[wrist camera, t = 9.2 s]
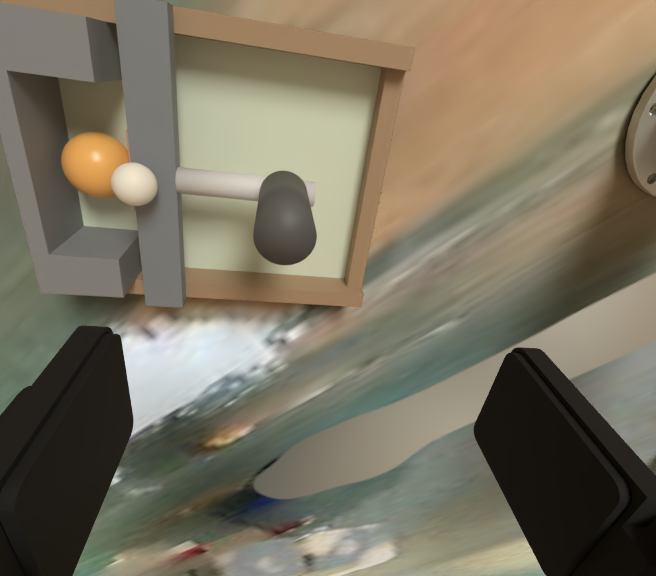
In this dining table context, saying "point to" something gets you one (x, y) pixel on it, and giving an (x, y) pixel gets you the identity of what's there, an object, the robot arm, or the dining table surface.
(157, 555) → the dining table surface
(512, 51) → the dining table surface
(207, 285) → the foosball lane
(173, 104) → the kicker rod
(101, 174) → the ball
